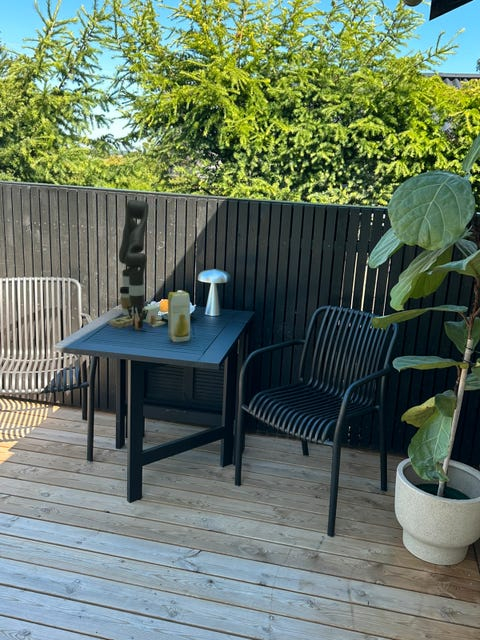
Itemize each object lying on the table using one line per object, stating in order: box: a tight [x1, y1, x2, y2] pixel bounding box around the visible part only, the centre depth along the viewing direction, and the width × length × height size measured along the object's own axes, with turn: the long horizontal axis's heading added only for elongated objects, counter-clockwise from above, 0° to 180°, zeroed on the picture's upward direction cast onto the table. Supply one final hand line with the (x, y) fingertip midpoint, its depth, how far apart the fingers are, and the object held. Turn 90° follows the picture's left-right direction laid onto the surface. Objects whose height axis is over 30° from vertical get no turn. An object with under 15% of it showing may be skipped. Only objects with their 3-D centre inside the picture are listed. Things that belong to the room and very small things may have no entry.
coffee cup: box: [119, 286, 132, 316], centre depth 314 cm, size 8×8×15 cm
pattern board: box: [148, 315, 166, 328], centre depth 296 cm, size 4×8×5 cm, turn 141°
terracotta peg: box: [134, 313, 142, 331], centre depth 287 cm, size 3×3×8 cm
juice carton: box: [167, 290, 191, 343], centre depth 269 cm, size 9×8×24 cm
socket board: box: [108, 315, 133, 329], centre depth 297 cm, size 14×8×2 cm, turn 141°
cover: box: [143, 304, 163, 324], centre depth 304 cm, size 6×10×7 cm, turn 141°
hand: (137, 326), depth 288 cm, fingers closed on terracotta peg, 3 cm apart
